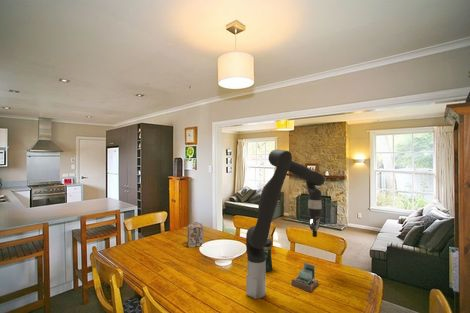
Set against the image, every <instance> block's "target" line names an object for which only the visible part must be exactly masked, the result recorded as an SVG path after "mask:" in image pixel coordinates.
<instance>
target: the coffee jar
mask: <svg viewBox="0 0 470 313" xmlns="http://www.w3.org/2000/svg"><path fill="white" fill-rule="evenodd" d="M272 242H273V241H272V239H271V238H270V239H269V238H268V240H267V243H266V245H265V246H264V247H263V248H264V252H265V255H266V272H271V271H272V270H273V261H272V260H273V259H272V248H273V243H272Z"/></svg>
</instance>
